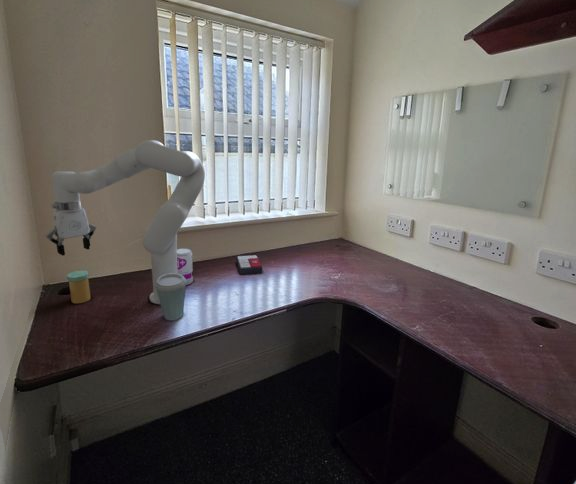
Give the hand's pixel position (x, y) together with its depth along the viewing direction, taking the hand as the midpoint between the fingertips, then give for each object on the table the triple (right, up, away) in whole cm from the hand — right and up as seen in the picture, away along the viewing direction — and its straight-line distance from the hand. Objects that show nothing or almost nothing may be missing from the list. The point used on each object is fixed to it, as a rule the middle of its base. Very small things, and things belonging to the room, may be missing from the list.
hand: (74, 251), depth 119 cm
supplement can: (+33, -16, +23) cm, 44 cm away
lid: (0, -9, +2) cm, 9 cm away
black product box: (+60, -12, +43) cm, 75 cm away
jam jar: (-1, -19, +5) cm, 20 cm away
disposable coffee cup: (+38, -23, -4) cm, 45 cm away
